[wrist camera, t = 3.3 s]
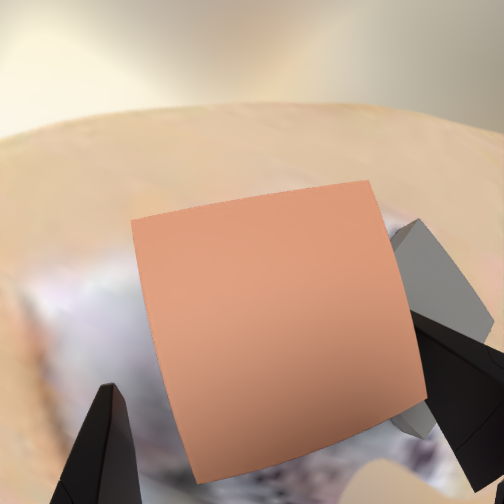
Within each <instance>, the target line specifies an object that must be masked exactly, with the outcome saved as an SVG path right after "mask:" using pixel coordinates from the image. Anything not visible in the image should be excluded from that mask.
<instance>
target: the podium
mask: <svg viewBox="0 0 504 504" xmlns="http://www.w3.org/2000/svg"><path fill="white" fill-rule="evenodd" d="M390 242H391V245H392V249H393V252H394V255H395V258H396V262H397V265H398V268H399V272H400V275H401V279H402V282H403V286H404V290H405V293H406V297H407V301H408V305H409V309H410V310H412V311H415V312H417V313H419V314H421V315H423V316H425V317H427V318H430V319H432V320H434V321H436V322H438V323H440V324H442V325H445V326H447V327H449V328H451V329H453V330H455V331H457V332H460V333H462V334H464V335H466V336H468V337H470V338H472V339H474V340H476V341H479V342H481V343H483V344H484V342H485V340H486V338H487V336H488V334H489V332H490V330H491V328H492V326H493V323H494V320H493V318H492V317H491V315H490V313H489V312H488V310H487V309H486V307H485V306H484V304H483V303H482V301H481V300H480V298H479V297H478V295H477V294H476V292H475V291H474V289H473V288H472V286H471V285H470V283H469V282H468V281H467V279H466V278H465V276H464V275H463V274H462V272H461V271H460V270H459V268H458V267H457V265H456V264H455V263H454V261H453V260H452V259H451V257H450V256H449V255H448V253H447V252H446V251H445V250H444V248H443V247H442V246H441V244H440V243H439V242H438V241H437V239H436V238H435V237H434V236H433V234H432V233H431V232H430V231H429V229H428V228H427V227H426V226H425V225H424V223H423V222H422V221H421V220H420V219H419V218H418V219H417V220H415V221H413V222H411V223H410V224H408V225H406V226H404V227H403V228H401V229H399V230H398V231H397V233H396V234H395V235H394V237H393V238H392V239H391V240H390ZM390 420H391V421H392V422H393V423H394V424H395V425H396V426H397V427H398V428H399V429H400V430H401V431H402V432H404V433H407V434H410V435H413V436H415V437H418V438H421V439H425V438H426V437H427V435H428V434H429V433H430V431H431V430H432V428H433V427H434V426H435V424H436V423H437V422H436V420H435V418H434V417H433V415H432V413H431V411H430V410H429V408H428V406H427V405H426V403H425V401H424V400H423V401H421V402H420V403H418V404H416V405H414V406H412V407H411V408H409V409H407V410H405V411H403V412H401V413H400V414H398V415H396V416H394V417H392V418H390Z"/></svg>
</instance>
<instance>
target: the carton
mask: <svg viewBox="0 0 504 504" xmlns="http://www.w3.org/2000/svg"><path fill="white" fill-rule="evenodd" d="M131 226H132V233H133V240H134V246H135V252H136V258H137V264H138V270H139V275H140V281H141V286H142V291H143V296H144V301H145V306H146V311H147V316H148V320H149V325H150V329H151V333H152V338H153V342H154V346H155V350H156V354H157V358H158V362H159V366H160V370H161V373H162V377H163V381H164V384H165V388H166V392H167V395H168V399H169V402H170V405H171V409H172V412H173V415H174V418H175V422H176V425H177V428H178V431H179V434H180V437H181V440H182V443H183V446H184V449H185V452H186V455H187V458H188V460H189V463H190V466H191V469H192V471H193V474H194V477H195V479H196V482H197V484H202V483H207V482H212V481H217V480H221V479H225V478H230V477H234V476H238V475H242V474H246V473H249V472H253V471H257V470H260V469H264V468H267V467H270V466H274V465H277V464H280V463H283V462H286V461H289V460H292V459H295V458H298V457H301V456H304V455H307V454H309V453H312V452H315V451H317V450H320V449H323V448H325V447H328V446H330V445H333V444H335V443H338V442H340V441H342V440H345V439H347V438H350V437H352V436H354V435H356V434H359V433H361V432H363V431H365V430H367V429H369V428H372V427H374V426H376V425H378V424H380V423H382V422H384V421H386V420H388V419H390V418H392V417H394V416H396V415H398V414H400V413H401V412H403V411H405V410H407V409H409V408H411V407H412V406H414V405H416V404H418V403H420V402H421V401H423V400H425V399H427V392H426V386H425V380H424V374H423V369H422V363H421V358H420V353H419V348H418V344H417V339H416V334H415V330H414V326H413V321H412V317H411V313H410V309H409V305H408V301H407V297H406V293H405V290H404V286H403V282H402V279H401V275H400V272H399V268H398V265H397V262H396V258H395V255H394V252H393V249H392V245H391V242H390V239H389V236H388V233H387V230H386V227H385V224H384V221H383V218H382V215H381V212H380V210H379V207H378V204H377V201H376V199H375V196H374V193H373V191H372V188H371V185H370V183H369V180H365V181H357V182H349V183H342V184H334V185H327V186H320V187H313V188H306V189H299V190H293V191H286V192H280V193H274V194H267V195H261V196H255V197H249V198H243V199H238V200H232V201H226V202H221V203H215V204H210V205H204V206H199V207H194V208H189V209H184V210H179V211H174V212H169V213H164V214H159V215H154V216H149V217H144V218H140V219H135V220H131Z"/></svg>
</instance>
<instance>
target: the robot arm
mask: <svg viewBox="0 0 504 504" xmlns="http://www.w3.org/2000/svg"><path fill="white" fill-rule="evenodd" d="M410 313H411V317H412V321H413V326H414V330H415V334H416V339H417V344H418V348H419V353H420V358H421V363H422V369H423V374H424V380H425V386H426V392H427V399H425V400H424V401H425V403H426V405H427V406H428V408H429V410H430V411H431V413H432V415H433V417H434V418H435V420H436V422H437V424H438V425H439V427H440V429H441V431H442V432H443V434H444V436H445V438H446V440H447V441H448V443H449V445H450V447H451V449H452V450H453V452H454V454H455V456H456V458H457V460H458V462H459V464H460V466H461V467H462V469H463V471H464V473H465V475H466V477H467V479H468V481H469V483H470V485H471V487H472V489H473V490H474V492H475V493H476V492H478V491H480V490H481V489H483V488H484V487H486V486H487V485H489V484H491V483H492V482H494V481H495V480H497V479H498V478H499V477H501V476H502V475H504V353H502V352H500V351H498V350H496V349H493V348H491V347H489V346H487V345H485V344H483V343H481V342H479V341H476V340H474V339H472V338H470V337H468V336H466V335H464V334H462V333H460V332H457V331H455V330H453V329H451V328H449V327H447V326H445V325H442V324H440V323H438V322H436V321H434V320H432V319H430V318H427V317H425V316H423V315H421V314H419V313H417V312H415V311H412V310H410ZM60 480H61V481H60ZM60 480H59V481H58V484H57V486H56V489H55V491H54V494H53V496H52V499H51V501H50V504H142V500H141V494H140V487H139V480H138V472H137V464H136V455H135V447H134V442H133V438H132V433H131V428H130V423H129V418H128V413H127V407H126V403H125V399H124V397H123V396H122V394H121V393H120V391H119V389H118V388H117V386H116V385H115V384H114V383H107V384H102V385H101V386H100V388H99V390H98V392H97V394H96V396H95V398H94V400H93V402H92V405H91V407H90V409H89V411H88V413H87V416H86V418H85V420H84V422H83V424H82V427H81V429H80V431H79V433H78V436H77V438H76V440H75V443H74V445H73V447H72V450H71V452H70V454H69V457H68V459H67V462H66V464H65V467H64V469H63V472H62V474H61V477H60ZM495 504H504V479H503V480H502V481H501V482H500V483H499V484H498V486H497V492H496V498H495Z"/></svg>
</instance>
